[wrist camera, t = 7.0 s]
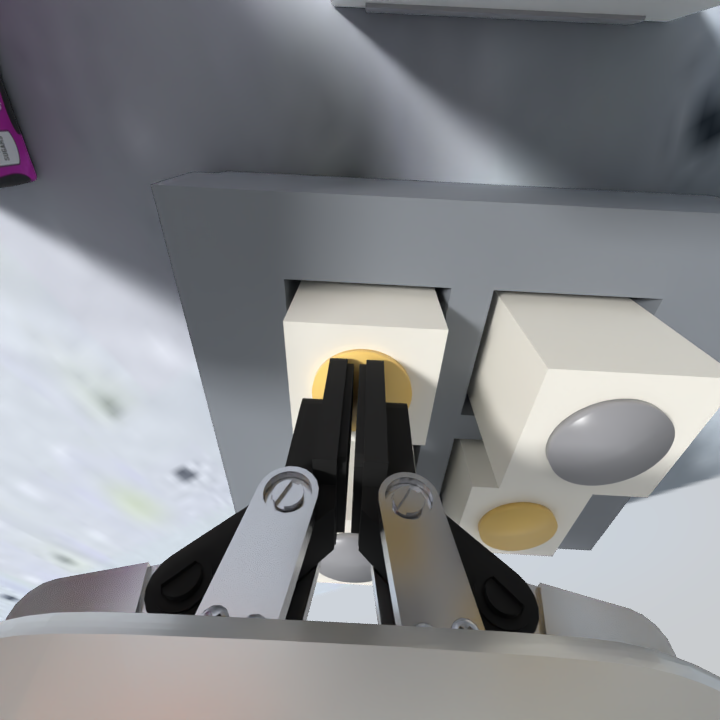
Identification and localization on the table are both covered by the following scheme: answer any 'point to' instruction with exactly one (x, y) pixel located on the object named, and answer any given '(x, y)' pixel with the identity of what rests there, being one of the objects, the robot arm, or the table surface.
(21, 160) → the candy bar box
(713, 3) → the card
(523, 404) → the button
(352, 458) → the button
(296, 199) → the board
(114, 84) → the table surface
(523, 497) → the button
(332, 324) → the button
